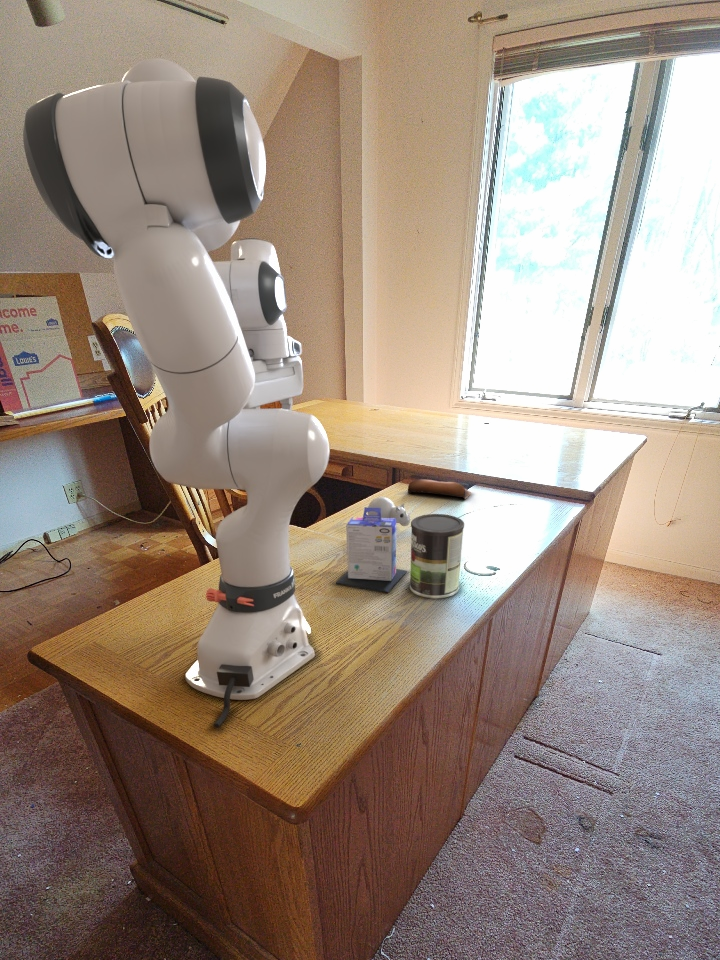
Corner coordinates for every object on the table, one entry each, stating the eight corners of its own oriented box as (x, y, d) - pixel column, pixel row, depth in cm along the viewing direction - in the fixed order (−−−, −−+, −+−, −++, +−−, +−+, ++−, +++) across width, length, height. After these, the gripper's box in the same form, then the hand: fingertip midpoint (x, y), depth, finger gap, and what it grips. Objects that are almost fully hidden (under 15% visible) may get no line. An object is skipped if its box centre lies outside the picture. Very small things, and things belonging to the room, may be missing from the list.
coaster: (387, 593, 114) (387, 591, 114) (335, 584, 119) (335, 582, 119) (406, 572, 123) (406, 570, 123) (357, 564, 127) (357, 562, 127)
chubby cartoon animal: (402, 540, 139) (402, 506, 135) (362, 531, 145) (361, 499, 141) (416, 531, 144) (417, 498, 140) (377, 523, 150) (376, 491, 146)
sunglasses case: (472, 491, 170) (470, 475, 165) (465, 508, 168) (464, 493, 162) (417, 485, 177) (413, 469, 172) (409, 502, 174) (406, 486, 169)
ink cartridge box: (397, 571, 123) (397, 506, 115) (393, 582, 118) (393, 515, 110) (353, 568, 124) (350, 504, 117) (347, 579, 120) (344, 513, 112)
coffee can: (421, 602, 111) (423, 534, 103) (402, 581, 119) (403, 517, 112) (468, 594, 113) (473, 527, 106) (446, 574, 122) (450, 511, 114)
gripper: (245, 351, 94) (256, 437, 101) (306, 344, 110) (311, 418, 117) (215, 352, 96) (228, 436, 103) (278, 344, 112) (286, 417, 119)
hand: (273, 426), depth 110 cm, fingers open, 8 cm apart
